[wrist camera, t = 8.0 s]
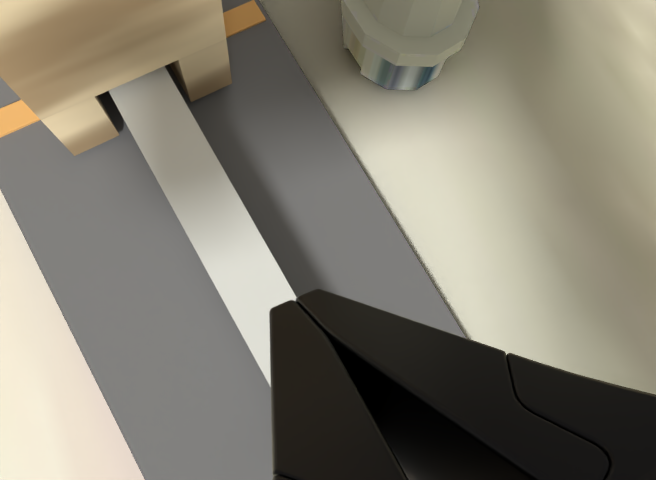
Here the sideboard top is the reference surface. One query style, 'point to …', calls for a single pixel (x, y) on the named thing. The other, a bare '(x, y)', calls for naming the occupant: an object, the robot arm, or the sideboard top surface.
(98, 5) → the notched wooden block
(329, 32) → the sideboard top surface
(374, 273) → the grey board
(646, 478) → the robot arm
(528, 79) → the sideboard top surface
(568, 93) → the sideboard top surface
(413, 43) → the grey flashlight
